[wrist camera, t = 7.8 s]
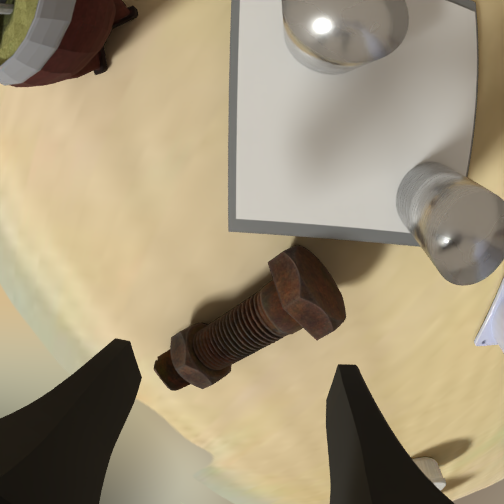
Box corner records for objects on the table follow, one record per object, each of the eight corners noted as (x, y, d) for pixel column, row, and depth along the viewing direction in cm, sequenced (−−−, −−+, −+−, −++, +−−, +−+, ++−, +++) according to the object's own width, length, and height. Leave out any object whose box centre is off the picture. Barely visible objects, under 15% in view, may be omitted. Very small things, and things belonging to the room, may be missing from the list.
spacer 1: (370, 4, 10) (405, -31, 6) (369, 80, 12) (408, 73, 8) (284, -6, 10) (281, -51, 6) (282, 70, 12) (279, 55, 8)
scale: (456, -21, 9) (484, -36, 6) (437, 235, 18) (460, 262, 14) (240, -57, 11) (229, -86, 7) (234, 217, 19) (222, 244, 16)
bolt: (174, 337, 27) (312, 242, 20) (203, 385, 26) (353, 307, 19) (126, 358, 22) (278, 248, 15) (160, 414, 21) (334, 336, 14)
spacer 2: (467, 168, 13) (522, 200, 9) (451, 237, 15) (494, 286, 10) (402, 155, 13) (448, 183, 9) (389, 230, 15) (422, 283, 11)
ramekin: (358, 474, 35) (359, 504, 30) (426, 446, 30) (433, 478, 26) (390, 485, 38) (392, 510, 33) (448, 460, 33) (454, 486, 29)
